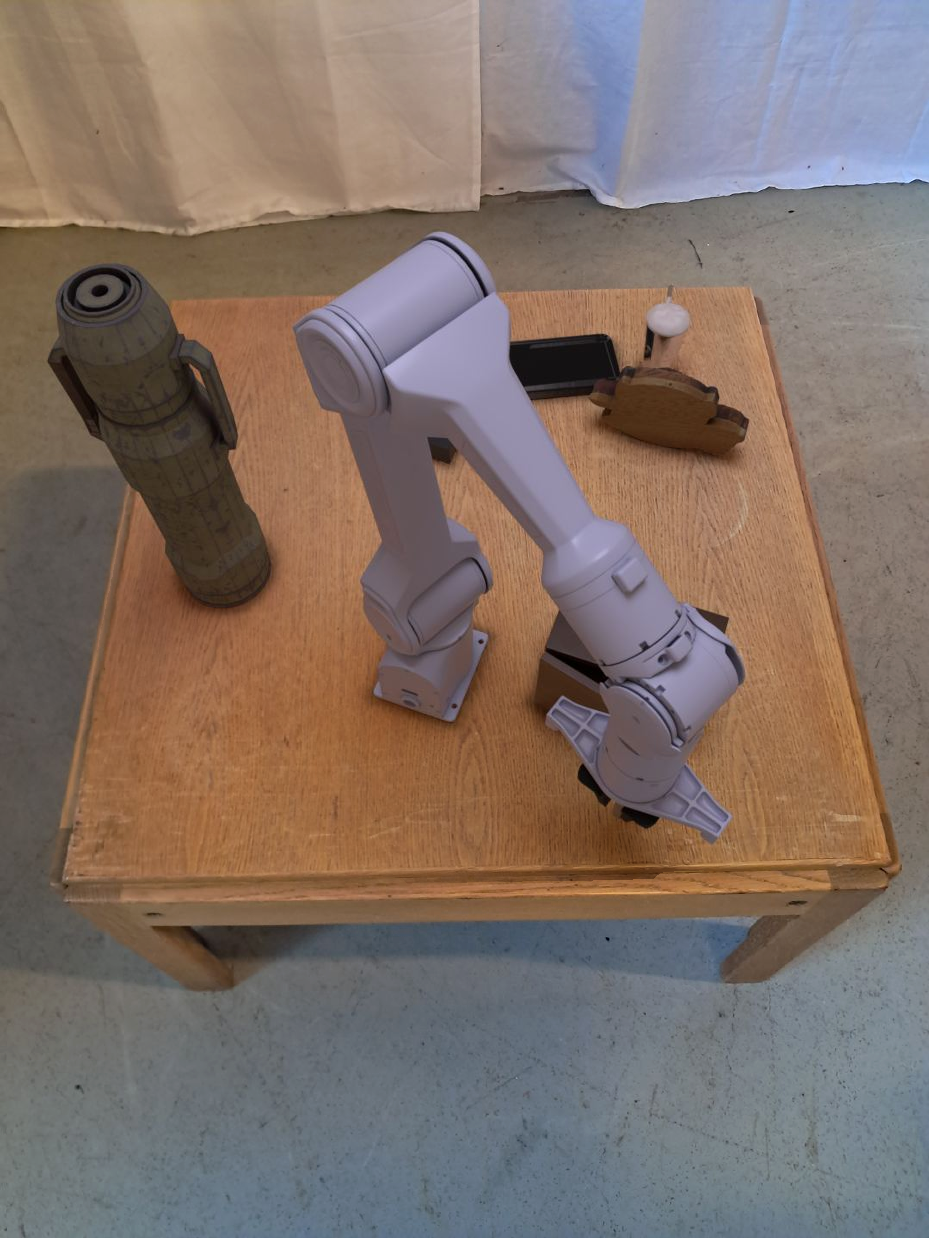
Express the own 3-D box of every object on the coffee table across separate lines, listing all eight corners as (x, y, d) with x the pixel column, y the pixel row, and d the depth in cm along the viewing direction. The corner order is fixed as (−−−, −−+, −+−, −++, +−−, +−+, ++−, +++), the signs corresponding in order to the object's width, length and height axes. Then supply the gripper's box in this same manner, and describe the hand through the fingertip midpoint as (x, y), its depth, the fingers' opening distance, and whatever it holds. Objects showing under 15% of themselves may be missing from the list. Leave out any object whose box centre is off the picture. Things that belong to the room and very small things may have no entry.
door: (632, 838, 77) (650, 805, 69) (499, 750, 81) (501, 709, 73) (669, 778, 79) (691, 739, 71) (538, 696, 83) (545, 650, 75)
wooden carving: (740, 436, 98) (766, 369, 89) (735, 469, 95) (761, 403, 87) (588, 408, 100) (599, 340, 91) (580, 440, 98) (591, 373, 89)
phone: (623, 383, 100) (487, 396, 99) (621, 391, 101) (487, 403, 100) (609, 332, 103) (479, 343, 103) (608, 339, 104) (478, 350, 104)
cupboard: (683, 742, 81) (707, 699, 73) (538, 694, 83) (544, 646, 75) (704, 666, 85) (729, 617, 76) (564, 622, 87) (573, 569, 79)
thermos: (173, 534, 92) (22, 245, 62) (290, 532, 92) (196, 242, 62) (161, 610, 88) (-8, 340, 58) (282, 608, 88) (178, 337, 57)
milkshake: (675, 355, 103) (693, 285, 95) (675, 391, 101) (694, 322, 92) (634, 353, 104) (649, 282, 95) (634, 388, 101) (649, 319, 92)
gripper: (773, 761, 60) (725, 820, 72) (592, 638, 64) (574, 713, 76) (717, 844, 57) (676, 891, 69) (532, 711, 62) (523, 776, 74)
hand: (619, 802), depth 72 cm, fingers closed
